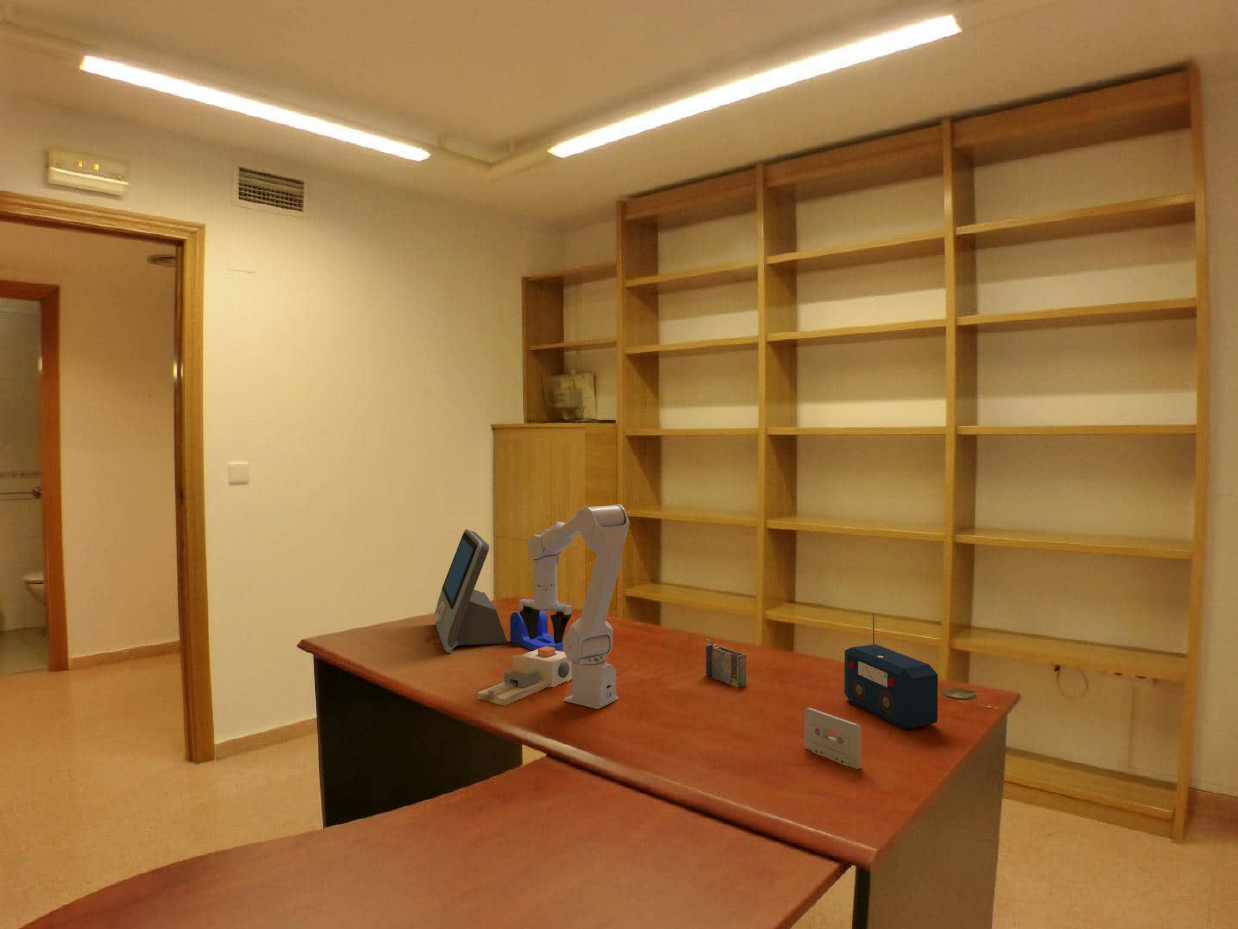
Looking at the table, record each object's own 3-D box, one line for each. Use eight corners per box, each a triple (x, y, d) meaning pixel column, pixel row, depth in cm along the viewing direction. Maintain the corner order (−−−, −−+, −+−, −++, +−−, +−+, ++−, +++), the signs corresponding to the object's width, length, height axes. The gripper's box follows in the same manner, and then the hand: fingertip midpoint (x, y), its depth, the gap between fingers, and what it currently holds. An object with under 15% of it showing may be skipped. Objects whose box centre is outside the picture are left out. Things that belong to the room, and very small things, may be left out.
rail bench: (549, 687, 181) (549, 680, 181) (504, 705, 169) (504, 699, 169) (523, 681, 186) (523, 674, 185) (478, 699, 173) (477, 692, 173)
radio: (839, 700, 171) (839, 610, 170) (871, 695, 174) (872, 606, 173) (905, 734, 151) (906, 632, 150) (941, 728, 154) (941, 628, 153)
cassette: (802, 748, 145) (802, 708, 145) (808, 746, 146) (808, 706, 146) (856, 771, 135) (856, 727, 135) (863, 768, 136) (863, 724, 136)
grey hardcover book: (704, 677, 189) (704, 637, 188) (713, 675, 190) (713, 635, 190) (736, 689, 179) (736, 648, 179) (746, 687, 181) (746, 646, 181)
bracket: (510, 641, 222) (509, 610, 221) (535, 637, 227) (535, 606, 226) (542, 655, 207) (542, 622, 207) (569, 650, 212) (568, 617, 212)
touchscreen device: (429, 624, 241) (431, 528, 240) (492, 621, 247) (494, 527, 246) (438, 655, 208) (440, 543, 207) (511, 650, 214) (513, 542, 213)
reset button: (555, 656, 187) (555, 648, 187) (547, 659, 184) (547, 651, 184) (545, 654, 188) (545, 646, 188) (537, 657, 186) (537, 649, 186)
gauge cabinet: (575, 679, 187) (574, 654, 186) (553, 688, 180) (553, 662, 180) (541, 671, 193) (541, 647, 192) (520, 680, 186) (519, 655, 186)
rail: (538, 678, 183) (538, 674, 183) (493, 696, 170) (493, 691, 170) (533, 677, 184) (533, 673, 184) (488, 695, 171) (488, 690, 171)
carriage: (538, 682, 179) (538, 656, 179) (524, 687, 175) (523, 661, 175) (519, 677, 183) (518, 652, 183) (504, 683, 179) (504, 657, 178)
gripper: (579, 584, 185) (580, 641, 185) (532, 578, 193) (532, 633, 193) (561, 589, 179) (562, 648, 179) (513, 583, 187) (514, 639, 187)
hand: (545, 640), depth 186 cm, fingers open, 7 cm apart
